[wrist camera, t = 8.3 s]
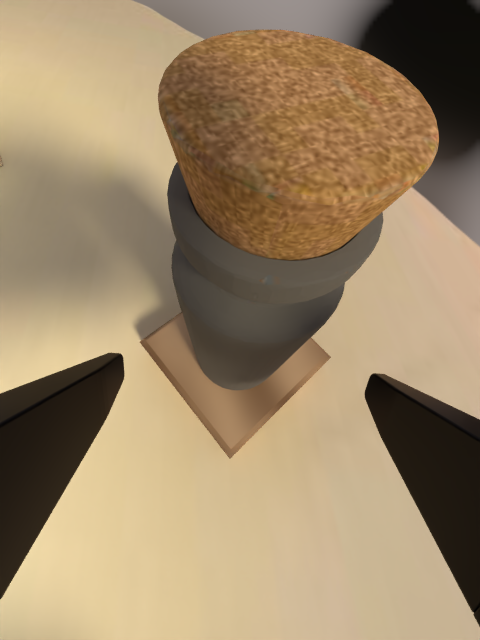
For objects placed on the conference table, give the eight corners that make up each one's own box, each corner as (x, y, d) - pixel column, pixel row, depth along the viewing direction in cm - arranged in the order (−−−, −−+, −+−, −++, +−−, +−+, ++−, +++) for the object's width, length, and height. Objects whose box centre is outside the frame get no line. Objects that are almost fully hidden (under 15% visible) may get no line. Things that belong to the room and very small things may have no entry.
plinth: (228, 455, 17) (230, 459, 15) (146, 349, 20) (137, 339, 18) (320, 363, 21) (333, 355, 18) (240, 281, 23) (242, 265, 21)
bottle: (192, 316, 19) (121, 4, 5) (269, 308, 19) (395, 19, 6) (200, 397, 16) (108, 248, 3) (285, 384, 17) (559, 219, 3)
